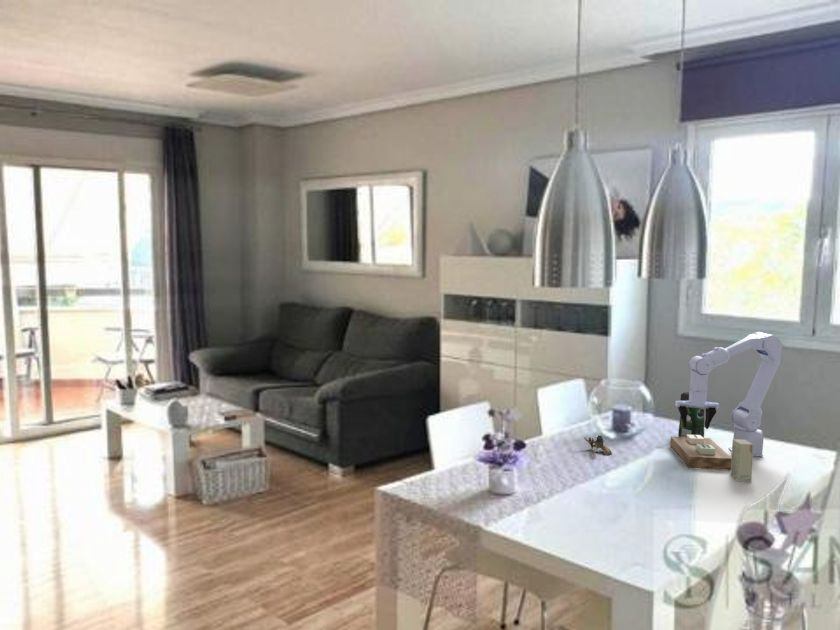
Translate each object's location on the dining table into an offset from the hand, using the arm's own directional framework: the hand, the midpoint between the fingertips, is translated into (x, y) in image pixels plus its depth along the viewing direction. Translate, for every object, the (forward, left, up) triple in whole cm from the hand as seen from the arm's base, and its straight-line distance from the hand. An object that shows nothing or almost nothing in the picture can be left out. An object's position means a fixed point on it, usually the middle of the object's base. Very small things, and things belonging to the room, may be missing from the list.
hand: (695, 427), depth 252 cm
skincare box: (-7, +25, -10) cm, 28 cm away
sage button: (0, +12, -7) cm, 13 cm away
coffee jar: (-4, -20, -10) cm, 22 cm away
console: (0, +5, -10) cm, 11 cm away
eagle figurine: (+34, +4, -10) cm, 36 cm away
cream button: (0, -1, -7) cm, 7 cm away
